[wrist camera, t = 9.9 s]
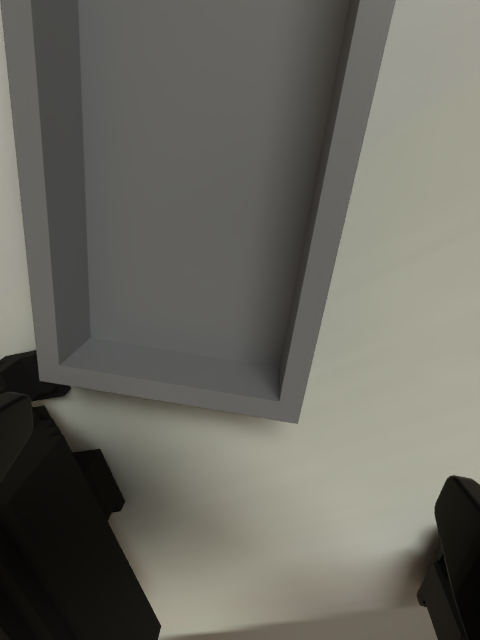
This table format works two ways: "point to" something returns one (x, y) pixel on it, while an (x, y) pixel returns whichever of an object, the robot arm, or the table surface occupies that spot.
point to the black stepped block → (62, 535)
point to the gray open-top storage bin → (187, 187)
